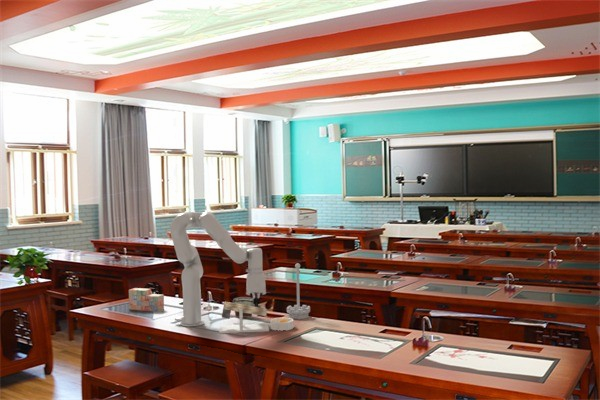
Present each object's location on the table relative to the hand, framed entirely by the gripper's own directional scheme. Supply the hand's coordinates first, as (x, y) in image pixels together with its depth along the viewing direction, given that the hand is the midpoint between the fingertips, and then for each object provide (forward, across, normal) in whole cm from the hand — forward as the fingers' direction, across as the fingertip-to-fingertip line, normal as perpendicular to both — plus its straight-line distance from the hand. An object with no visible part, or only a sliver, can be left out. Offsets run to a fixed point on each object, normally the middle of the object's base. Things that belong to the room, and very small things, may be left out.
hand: (256, 305), depth 314 cm
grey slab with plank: (+5, -7, -6) cm, 11 cm away
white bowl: (+10, +13, -12) cm, 20 cm away
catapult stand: (+10, -7, -12) cm, 17 cm away
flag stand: (+10, +24, +12) cm, 28 cm away
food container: (+10, -6, +20) cm, 23 cm away
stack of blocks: (+10, -65, +46) cm, 80 cm away
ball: (+7, +13, -12) cm, 19 cm away
